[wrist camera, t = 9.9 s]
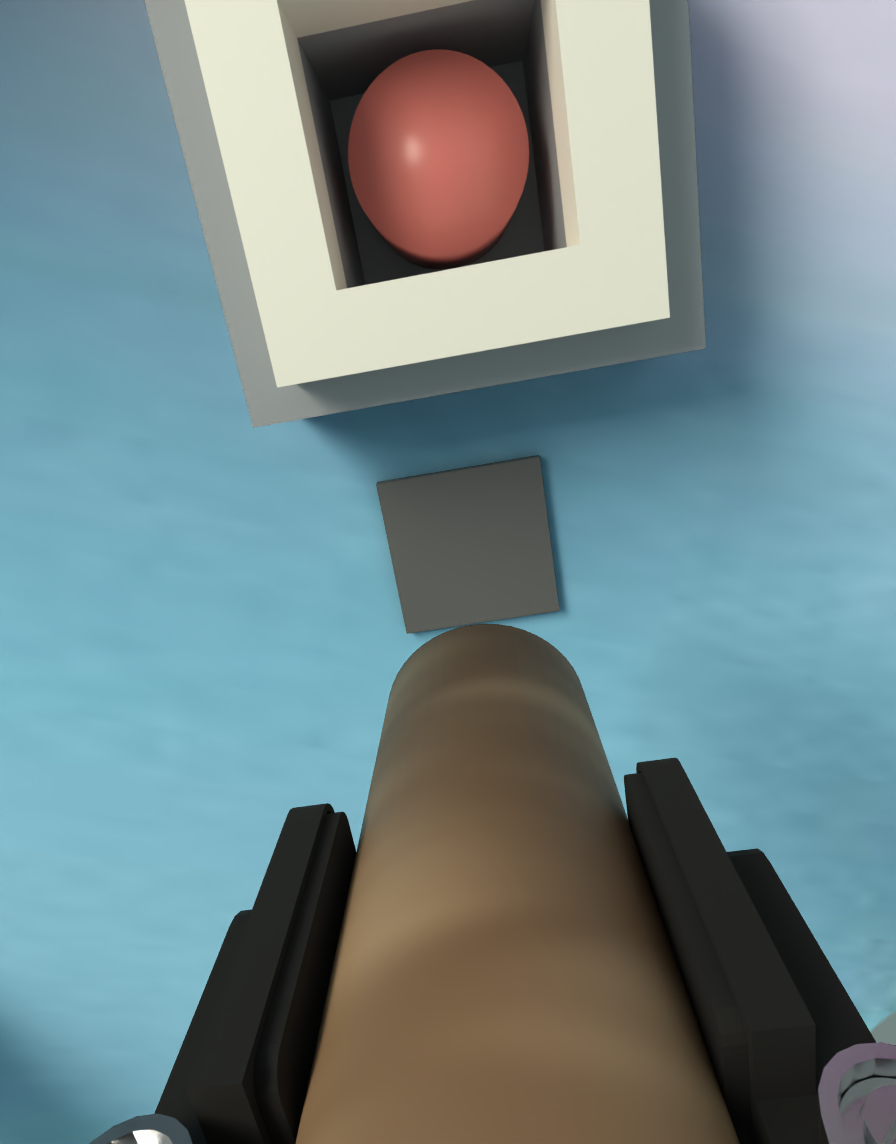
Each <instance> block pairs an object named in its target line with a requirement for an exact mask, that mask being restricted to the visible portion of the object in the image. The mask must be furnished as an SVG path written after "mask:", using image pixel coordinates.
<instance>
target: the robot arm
mask: <svg viewBox="0 0 896 1144" xmlns="http://www.w3.org/2000/svg"><path fill="white" fill-rule="evenodd" d="M636 770H637V773H636V774H628V775H625V776H624V785H625V795H626V804H627V814H628V822H629V825H630V828H631V831H632V833H633V836H634V839H635V842H636V845H637V848H638V851H639V854H640V857H641V860H642V862H643V865H644V868H645V871H646V874H647V877H648V880H649V883H650V886H651V889H652V891H653V894H654V897H655V900H656V903H657V906H658V909H659V912H660V915H661V918H662V921H663V923H664V926H665V929H666V932H667V935H668V938H669V941H670V944H671V947H672V950H673V952H674V955H675V958H676V961H677V964H678V967H679V970H680V973H681V976H682V979H683V981H684V984H685V987H686V990H687V993H688V996H689V999H690V1002H691V1005H692V1008H693V1011H694V1013H695V1016H696V1019H697V1022H698V1025H699V1028H700V1031H701V1034H702V1037H703V1040H704V1042H705V1045H706V1048H707V1051H708V1054H709V1057H710V1060H711V1063H712V1066H713V1069H714V1072H715V1074H716V1077H717V1080H718V1083H719V1086H720V1089H721V1092H722V1095H723V1098H724V1101H725V1103H726V1106H727V1109H728V1112H729V1114H730V1117H731V1120H732V1123H733V1125H734V1128H735V1131H736V1134H737V1137H738V1140H739V1143H740V1144H896V1045H891V1044H886V1043H876V1041H875V1040H874V1038H873V1036H872V1034H871V1033H870V1031H869V1029H868V1028H867V1026H866V1024H865V1023H864V1021H863V1019H862V1017H861V1016H860V1014H859V1012H858V1011H857V1009H856V1007H855V1006H854V1004H853V1002H852V1000H851V999H850V997H849V995H848V994H847V992H846V990H845V989H844V987H843V985H842V984H841V982H840V980H839V978H838V977H837V975H836V973H835V972H834V970H833V968H832V967H831V965H830V963H829V961H828V960H827V958H826V956H825V955H824V953H823V951H822V950H821V948H820V946H819V945H818V943H817V941H816V939H815V938H814V936H813V934H812V933H811V931H810V929H809V928H808V926H807V924H806V922H805V921H804V919H803V917H802V916H801V914H800V912H799V911H798V909H797V907H796V906H795V904H794V902H793V900H792V899H791V897H790V895H789V894H788V892H787V890H786V889H785V887H784V885H783V884H782V882H781V880H780V878H779V877H778V875H777V873H776V872H775V870H774V868H773V867H772V865H771V863H770V861H769V860H768V859H767V857H766V856H765V854H764V853H763V852H762V851H760V850H759V849H749V850H741V851H733V852H726V850H725V848H724V846H723V845H722V843H721V841H720V839H719V837H718V835H717V833H716V831H715V829H714V827H713V825H712V823H711V821H710V819H709V817H708V815H707V814H706V812H705V810H704V808H703V806H702V804H701V802H700V800H699V798H698V796H697V794H696V792H695V790H694V788H693V786H692V784H691V783H690V781H689V779H688V777H687V775H686V773H685V771H684V769H683V767H682V765H681V763H680V762H679V760H678V759H677V758H669V759H661V760H654V761H646V762H639V763H637V768H636ZM355 857H356V849H355V845H354V842H353V838H352V834H351V830H350V826H349V822H348V819H347V816H346V814H345V813H344V812H337V813H335V812H334V809H333V807H332V806H331V804H328V803H327V804H319V805H312V806H304V807H297V808H292V809H291V810H290V811H289V813H288V815H287V818H286V820H285V823H284V826H283V828H282V831H281V834H280V836H279V839H278V842H277V844H276V847H275V850H274V853H273V855H272V858H271V861H270V863H269V866H268V869H267V871H266V874H265V877H264V879H263V882H262V885H261V887H260V890H259V893H258V895H257V898H256V901H255V903H254V906H253V909H252V910H245V911H240V912H239V913H238V914H237V915H236V916H235V917H234V919H233V921H232V923H231V925H230V927H229V929H228V932H227V934H226V937H225V939H224V942H223V944H222V947H221V949H220V952H219V954H218V957H217V959H216V962H215V964H214V967H213V969H212V971H211V974H210V976H209V979H208V981H207V984H206V986H205V989H204V991H203V994H202V996H201V999H200V1001H199V1004H198V1006H197V1009H196V1011H195V1014H194V1016H193V1019H192V1021H191V1024H190V1026H189V1029H188V1031H187V1034H186V1036H185V1039H184V1041H183V1044H182V1046H181V1049H180V1051H179V1054H178V1056H177V1059H176V1061H175V1064H174V1066H173V1069H172V1071H171V1074H170V1076H169V1079H168V1081H167V1084H166V1086H165V1089H164V1091H163V1094H162V1096H161V1099H160V1101H159V1104H158V1106H157V1109H156V1111H155V1114H150V1115H143V1116H136V1117H134V1118H132V1119H129V1120H127V1121H125V1122H122V1123H120V1124H118V1125H115V1126H113V1127H112V1128H111V1129H109V1130H108V1131H106V1132H105V1133H103V1134H102V1135H101V1136H99V1137H98V1138H96V1139H95V1140H93V1141H92V1142H91V1143H90V1144H296V1139H297V1134H298V1129H299V1125H300V1120H301V1115H302V1110H303V1106H304V1101H305V1096H306V1091H307V1086H308V1082H309V1077H310V1072H311V1067H312V1063H313V1058H314V1053H315V1048H316V1044H317V1039H318V1034H319V1029H320V1024H321V1020H322V1015H323V1010H324V1005H325V1001H326V996H327V991H328V986H329V982H330V977H331V972H332V967H333V962H334V958H335V953H336V948H337V943H338V939H339V934H340V929H341V924H342V920H343V915H344V910H345V905H346V900H347V896H348V891H349V886H350V881H351V877H352V872H353V867H354V862H355Z"/></svg>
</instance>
